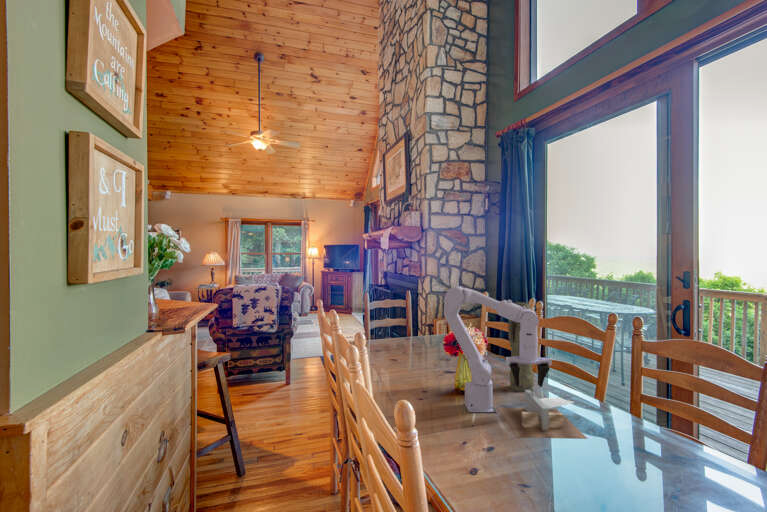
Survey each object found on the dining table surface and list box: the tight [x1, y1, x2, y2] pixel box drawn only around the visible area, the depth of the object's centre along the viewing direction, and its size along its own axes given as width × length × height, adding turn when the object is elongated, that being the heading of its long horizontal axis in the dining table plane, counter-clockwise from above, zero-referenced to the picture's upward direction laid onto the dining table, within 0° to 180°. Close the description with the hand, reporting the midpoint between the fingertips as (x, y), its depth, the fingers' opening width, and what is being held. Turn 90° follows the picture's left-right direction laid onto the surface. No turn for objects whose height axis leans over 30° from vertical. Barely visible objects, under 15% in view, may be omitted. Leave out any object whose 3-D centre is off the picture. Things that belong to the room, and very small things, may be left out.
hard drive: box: [539, 397, 575, 409], centre depth 127 cm, size 2×8×12 cm
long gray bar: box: [524, 390, 550, 430], centre depth 113 cm, size 2×15×6 cm, turn 177°
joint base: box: [497, 407, 588, 440], centre depth 111 cm, size 20×20×5 cm
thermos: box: [507, 301, 535, 393], centre depth 141 cm, size 9×12×35 cm
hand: (528, 385), depth 118 cm, fingers open, 7 cm apart
